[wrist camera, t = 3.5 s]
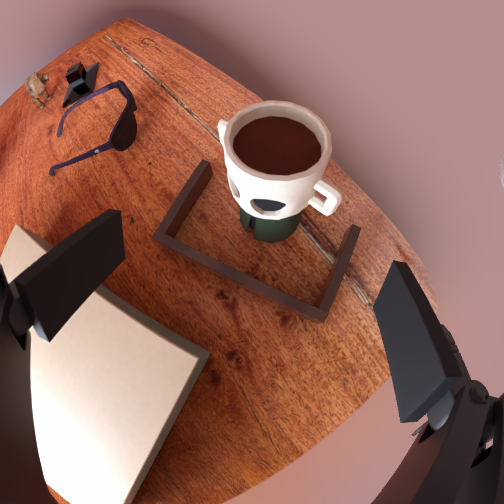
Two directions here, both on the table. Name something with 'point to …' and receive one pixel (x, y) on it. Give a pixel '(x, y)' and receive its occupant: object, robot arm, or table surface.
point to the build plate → (80, 82)
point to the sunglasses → (121, 132)
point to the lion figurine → (37, 87)
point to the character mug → (277, 166)
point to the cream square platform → (102, 389)
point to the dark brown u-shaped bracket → (167, 241)
